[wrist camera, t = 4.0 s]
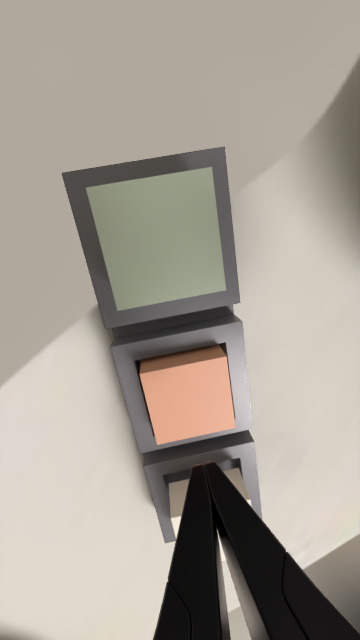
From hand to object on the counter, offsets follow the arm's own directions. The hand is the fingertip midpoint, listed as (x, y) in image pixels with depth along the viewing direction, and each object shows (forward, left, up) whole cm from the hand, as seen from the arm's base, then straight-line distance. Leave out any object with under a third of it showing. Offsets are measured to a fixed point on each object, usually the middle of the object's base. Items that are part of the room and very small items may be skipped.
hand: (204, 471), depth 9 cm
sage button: (-3, -7, -5) cm, 9 cm away
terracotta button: (0, 0, -6) cm, 6 cm away
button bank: (0, 0, -7) cm, 7 cm away
